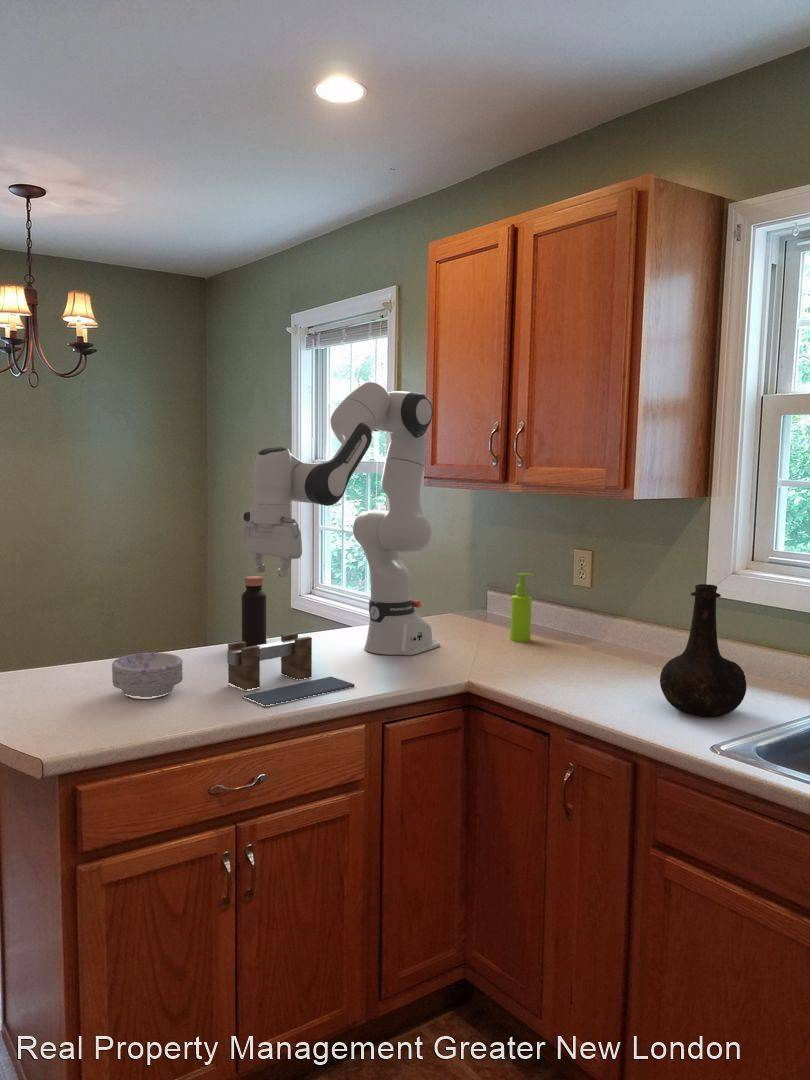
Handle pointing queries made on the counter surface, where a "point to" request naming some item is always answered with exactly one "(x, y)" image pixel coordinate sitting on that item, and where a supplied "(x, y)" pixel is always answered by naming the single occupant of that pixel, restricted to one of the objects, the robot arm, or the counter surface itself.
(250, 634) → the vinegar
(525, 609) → the soap dispenser
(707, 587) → the glass bottle
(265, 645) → the rail
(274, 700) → the mat
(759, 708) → the counter surface
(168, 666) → the paper bowls
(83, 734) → the counter surface
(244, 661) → the cradles
